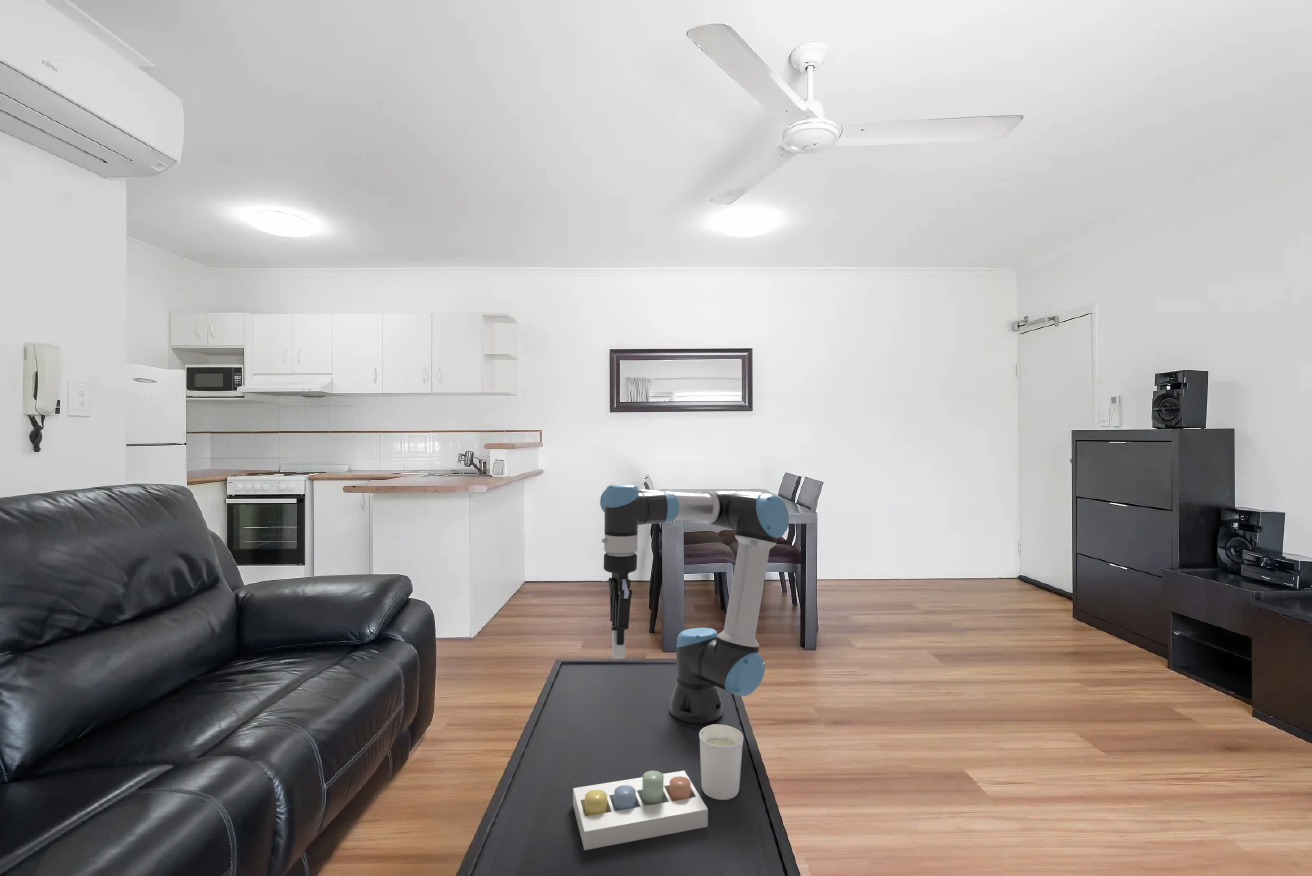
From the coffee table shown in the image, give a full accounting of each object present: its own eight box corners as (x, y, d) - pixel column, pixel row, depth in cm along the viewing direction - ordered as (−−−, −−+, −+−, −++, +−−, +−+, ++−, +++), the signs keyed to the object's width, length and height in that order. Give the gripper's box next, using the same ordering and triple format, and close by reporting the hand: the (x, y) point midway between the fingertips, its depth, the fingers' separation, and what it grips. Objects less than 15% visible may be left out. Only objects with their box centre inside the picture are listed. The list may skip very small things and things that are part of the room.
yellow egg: (604, 809, 118) (604, 788, 118) (608, 823, 114) (609, 800, 114) (582, 813, 116) (583, 791, 116) (586, 827, 112) (587, 804, 112)
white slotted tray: (684, 786, 128) (684, 770, 128) (707, 826, 115) (707, 809, 115) (572, 804, 121) (573, 788, 121) (584, 850, 107) (584, 831, 107)
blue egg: (632, 805, 119) (632, 783, 120) (637, 818, 115) (638, 796, 115) (611, 808, 118) (612, 786, 118) (616, 822, 114) (616, 799, 114)
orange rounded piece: (685, 795, 123) (686, 774, 123) (693, 808, 119) (693, 786, 119) (666, 799, 122) (666, 778, 122) (673, 812, 117) (673, 790, 118)
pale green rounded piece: (659, 790, 121) (660, 769, 121) (666, 803, 117) (666, 781, 117) (639, 793, 120) (640, 772, 120) (645, 806, 116) (645, 784, 116)
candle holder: (731, 808, 120) (732, 751, 121) (690, 792, 126) (691, 737, 126) (749, 785, 129) (750, 731, 129) (710, 771, 134) (711, 720, 134)
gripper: (598, 548, 134) (596, 648, 134) (610, 559, 122) (608, 670, 121) (629, 547, 136) (627, 645, 136) (644, 557, 124) (642, 666, 124)
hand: (618, 657), depth 129 cm, fingers closed
